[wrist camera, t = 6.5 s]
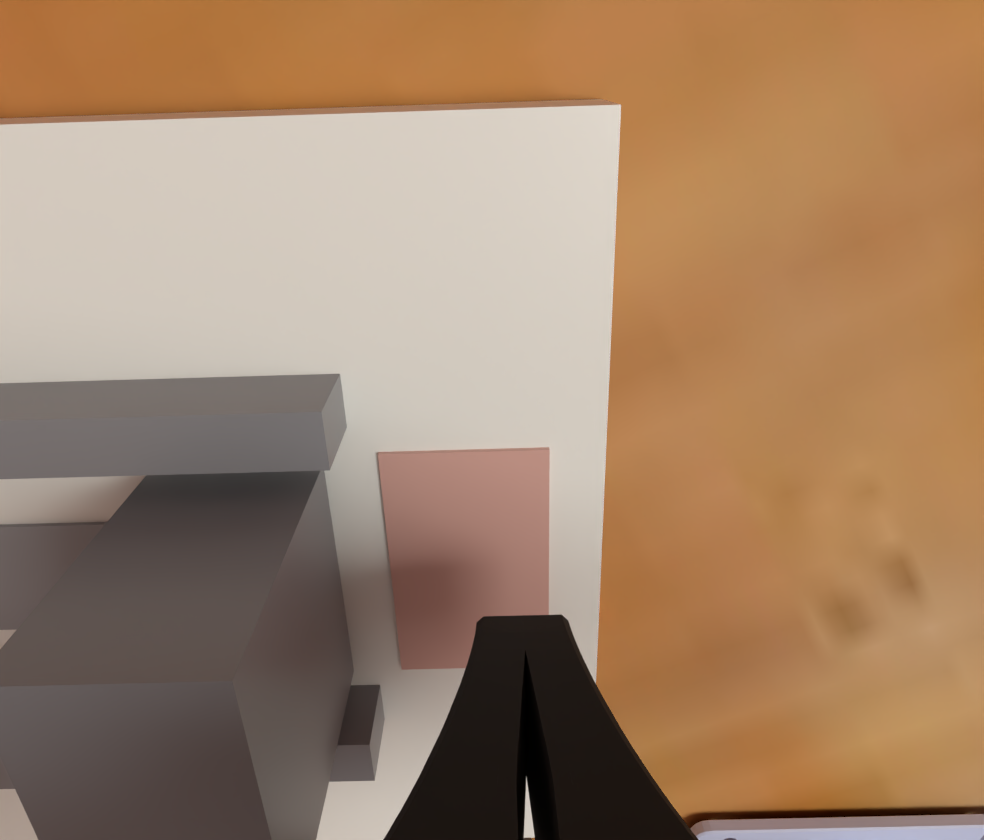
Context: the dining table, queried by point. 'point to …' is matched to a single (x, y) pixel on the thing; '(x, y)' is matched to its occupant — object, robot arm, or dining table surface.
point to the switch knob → (185, 668)
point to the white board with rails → (324, 369)
